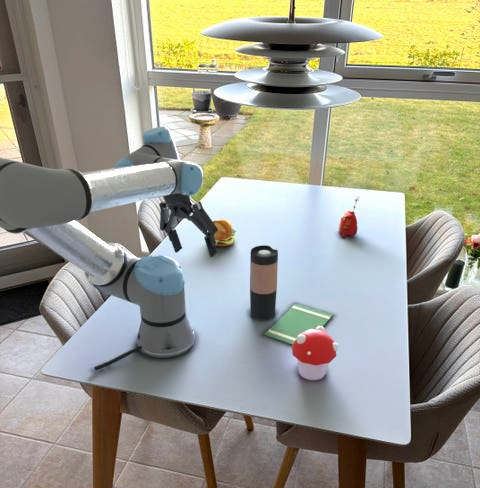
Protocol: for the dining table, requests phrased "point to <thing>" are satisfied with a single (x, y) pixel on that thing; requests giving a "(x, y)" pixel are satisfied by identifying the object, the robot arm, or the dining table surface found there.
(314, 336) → the mushroom
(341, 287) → the dining table surface
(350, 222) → the red clay folk toy
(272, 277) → the travel mug
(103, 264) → the robot arm
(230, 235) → the cheeseburger
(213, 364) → the dining table surface
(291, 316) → the cloth
